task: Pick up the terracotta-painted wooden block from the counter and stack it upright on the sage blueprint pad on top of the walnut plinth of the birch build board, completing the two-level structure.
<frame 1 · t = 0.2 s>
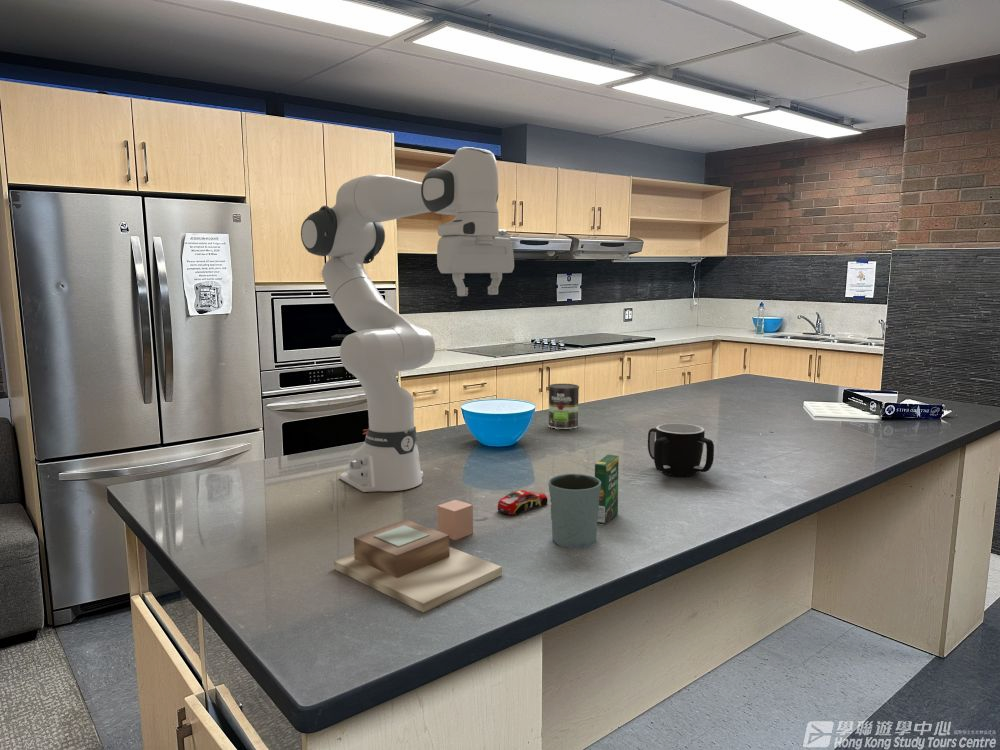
hand: (478, 295, 144), 47 cm above the countertop, fingers open, 8 cm apart
build board: (417, 571, 121), on the countertop
race car: (523, 509, 154), on the countertop
mug: (678, 473, 179), on the countertop
coffee box: (606, 519, 146), on the countertop
coffee can: (563, 427, 234), on the countertop
terracotta block: (455, 533, 139), on the countertop
grey green cup: (574, 541, 135), on the countertop
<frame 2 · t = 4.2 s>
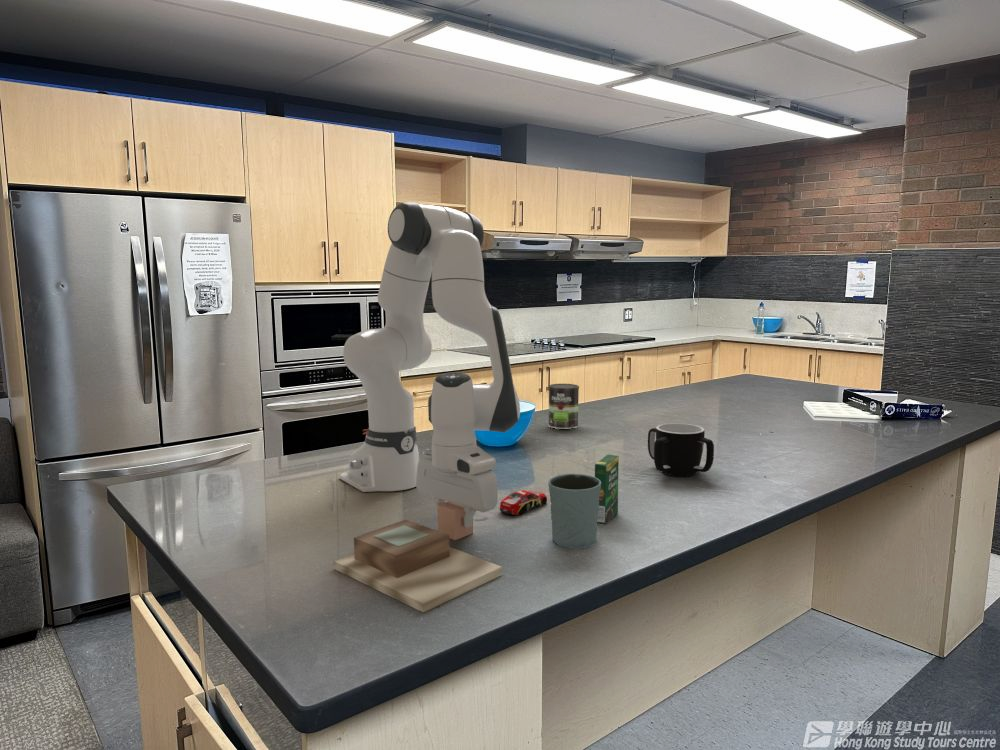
hand: (455, 522, 138), 2 cm above the countertop, fingers closed on terracotta block, 5 cm apart
terracotta block: (455, 533, 139), on the countertop, touching gripper
everything else where it was.
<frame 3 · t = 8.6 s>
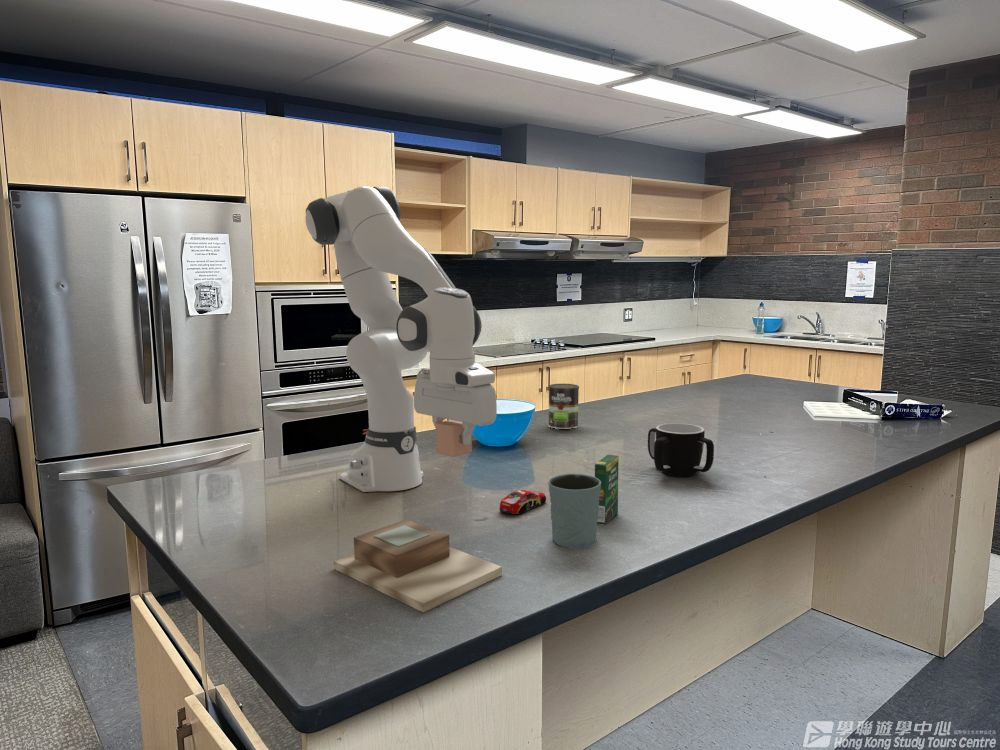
hand: (453, 441, 136), 19 cm above the countertop, fingers closed on terracotta block, 5 cm apart
terracotta block: (454, 452, 136), point 17 cm above the countertop, touching gripper
everything else where it was.
when the fingers open (10 cm above the countertop, at t = 13.0 s): terracotta block drops 2 cm, resting on build board.
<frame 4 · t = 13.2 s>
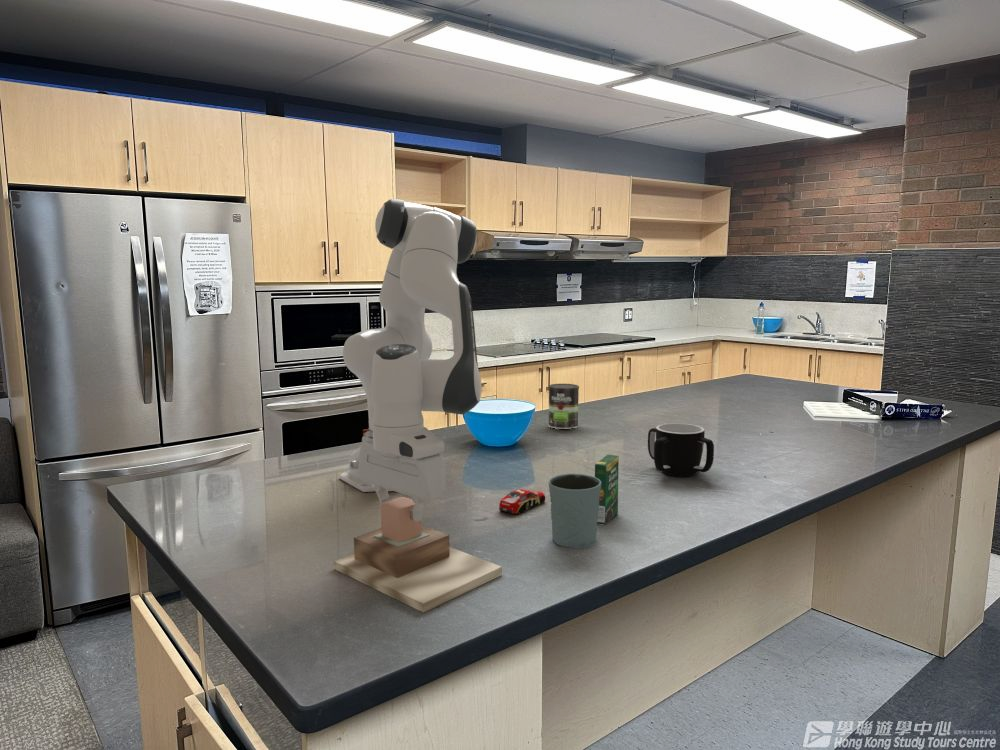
hand: (400, 514, 122), 10 cm above the countertop, fingers open, 7 cm apart
terracotta block: (401, 535, 123), point 6 cm above the countertop, touching build board
everything else where it was.
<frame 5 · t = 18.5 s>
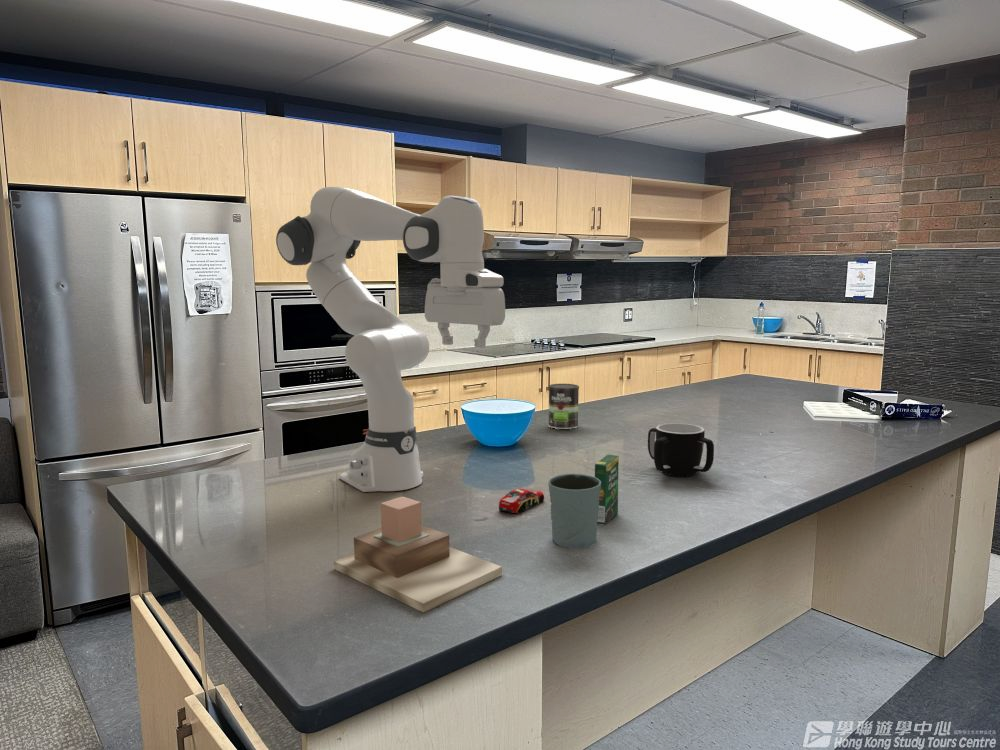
hand: (463, 346, 141), 37 cm above the countertop, fingers open, 8 cm apart
at the end: terracotta block inside the target area on the build board (0.1 cm from its centre), point 5.7 cm above the build board's base; terracotta block tilted 0°; the gripper is holding nothing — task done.
